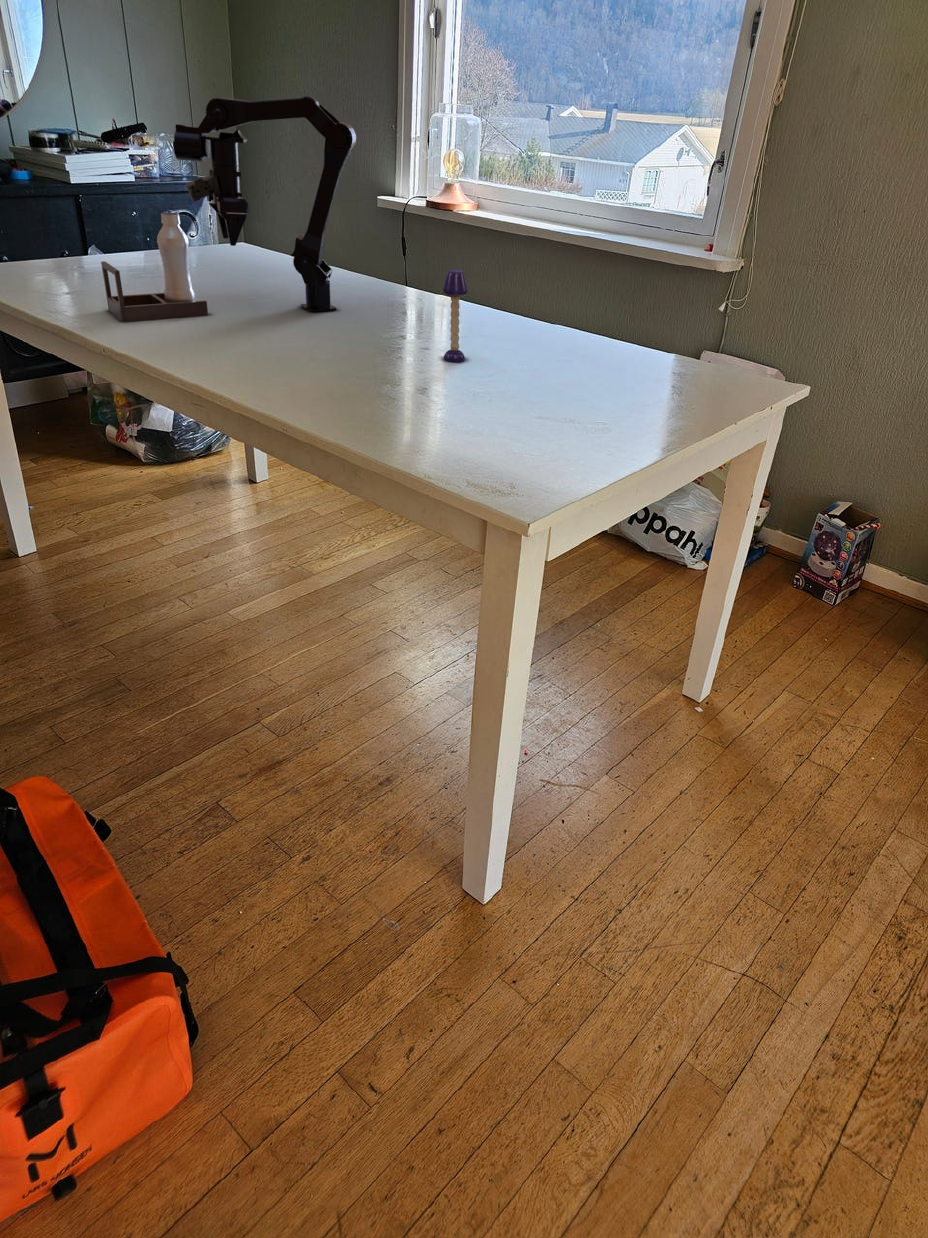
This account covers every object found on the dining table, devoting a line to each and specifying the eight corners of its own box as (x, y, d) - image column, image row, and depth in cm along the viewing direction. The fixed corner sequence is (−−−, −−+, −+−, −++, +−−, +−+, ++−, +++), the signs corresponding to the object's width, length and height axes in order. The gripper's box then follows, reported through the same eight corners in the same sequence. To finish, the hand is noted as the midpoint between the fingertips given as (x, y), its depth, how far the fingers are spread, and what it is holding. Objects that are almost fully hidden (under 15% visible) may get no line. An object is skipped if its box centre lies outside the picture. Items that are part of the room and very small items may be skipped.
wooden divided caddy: (208, 315, 190) (203, 266, 185) (122, 321, 181) (114, 270, 175) (191, 304, 198) (186, 257, 192) (108, 310, 188) (100, 261, 183)
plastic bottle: (192, 315, 189) (181, 216, 178) (161, 313, 189) (149, 214, 178) (200, 308, 195) (190, 212, 184) (170, 306, 194) (159, 210, 184)
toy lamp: (443, 362, 168) (447, 272, 159) (438, 356, 172) (441, 268, 163) (467, 362, 169) (472, 272, 160) (461, 355, 173) (465, 268, 164)
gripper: (180, 157, 189) (186, 233, 198) (193, 167, 175) (198, 248, 183) (231, 160, 194) (235, 235, 202) (248, 170, 179) (251, 249, 188)
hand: (229, 241), depth 194 cm, fingers open, 9 cm apart
